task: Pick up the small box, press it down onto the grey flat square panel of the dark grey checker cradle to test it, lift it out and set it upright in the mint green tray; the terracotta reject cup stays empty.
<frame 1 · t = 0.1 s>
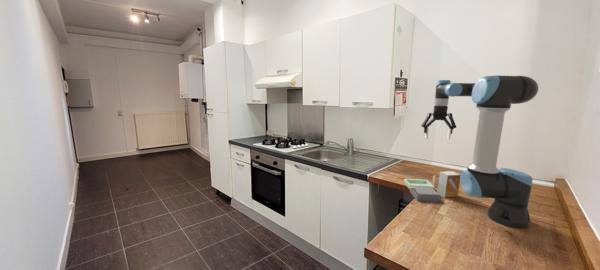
hand: (437, 138, 158), 28 cm above the counter, fingers open, 13 cm apart
grey flat square panel: (425, 190, 136), point 4 cm above the counter, slide at 0.0 cm, touching checker base
mint green tray: (418, 186, 152), on the counter
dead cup: (438, 186, 152), on the counter
checker base: (424, 196, 137), on the counter
small box: (447, 195, 140), on the counter
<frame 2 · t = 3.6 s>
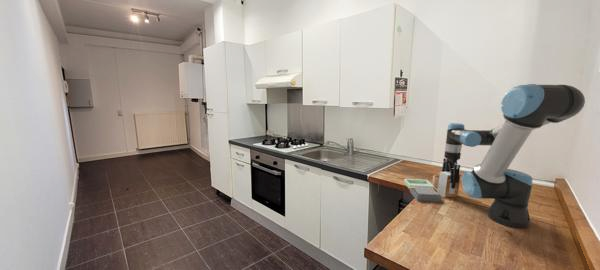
hand: (447, 190, 139), 3 cm above the counter, fingers closed on small box, 7 cm apart
small box: (447, 195, 140), on the counter, touching gripper
everything else where it was.
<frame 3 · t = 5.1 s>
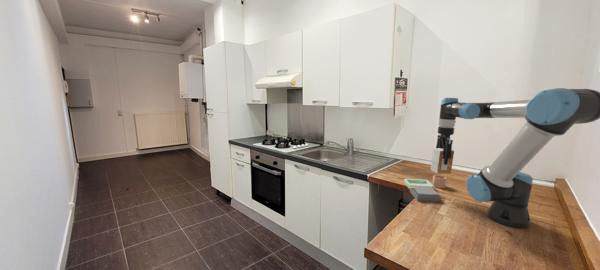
hand: (441, 167, 136), 16 cm above the counter, fingers closed on small box, 7 cm apart
small box: (440, 172, 137), point 14 cm above the counter, touching gripper
everything else where it was.
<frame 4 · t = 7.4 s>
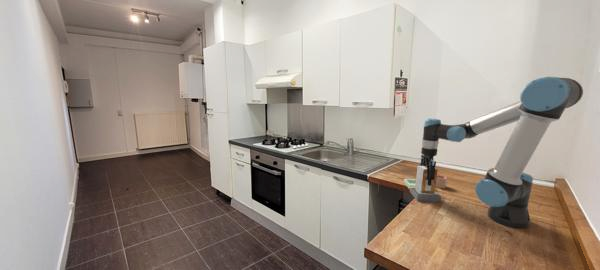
hand: (425, 187, 136), 5 cm above the counter, fingers closed on small box, 7 cm apart
grey flat square panel: (425, 190, 136), point 4 cm above the counter, slide at 0.0 cm, touching checker base, small box
small box: (424, 190, 137), point 4 cm above the counter, touching grey flat square panel, gripper
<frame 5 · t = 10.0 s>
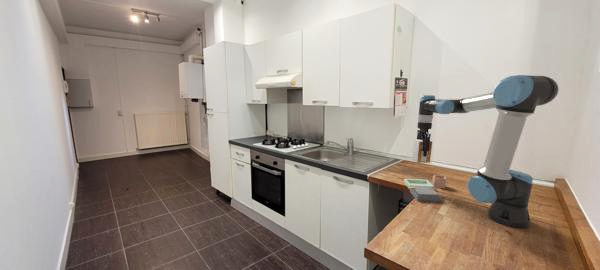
hand: (420, 159, 148), 17 cm above the counter, fingers closed on small box, 7 cm apart
grey flat square panel: (425, 190, 136), point 4 cm above the counter, slide at 0.0 cm, touching checker base
small box: (420, 161, 148), point 16 cm above the counter, touching gripper
when the fingers open (4 cm above the counter, at t = 12.8 s): small box drops 2 cm, resting on mint green tray.
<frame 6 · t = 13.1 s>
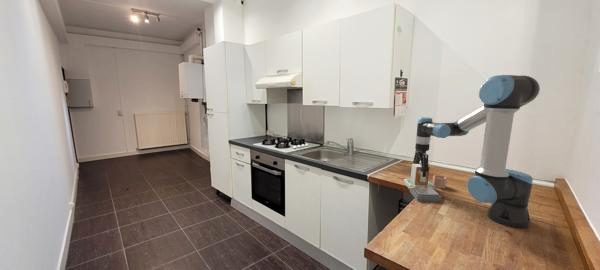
hand: (419, 178, 151), 5 cm above the counter, fingers open, 11 cm apart
small box: (418, 185, 151), resting on mint green tray
everything else where it was.
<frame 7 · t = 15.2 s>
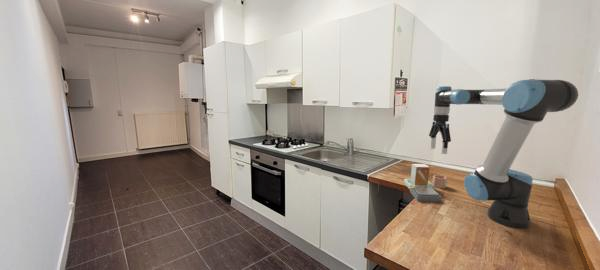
hand: (438, 151, 142), 24 cm above the counter, fingers open, 13 cm apart
nothing on the counter moved.
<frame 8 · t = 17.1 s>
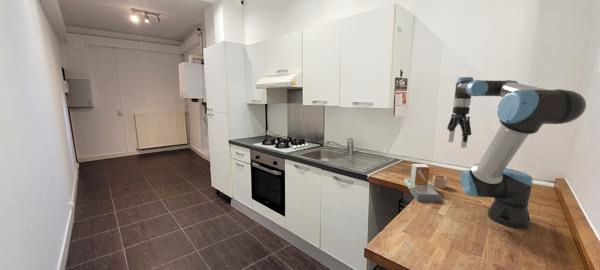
hand: (456, 144, 137), 29 cm above the counter, fingers open, 13 cm apart
nothing on the counter moved.
at the end: small box inside the target area on the mint green tray (0.3 cm from its centre), point 0.4 cm above the mint green tray's base; small box tilted 0°; the gripper is holding nothing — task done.
